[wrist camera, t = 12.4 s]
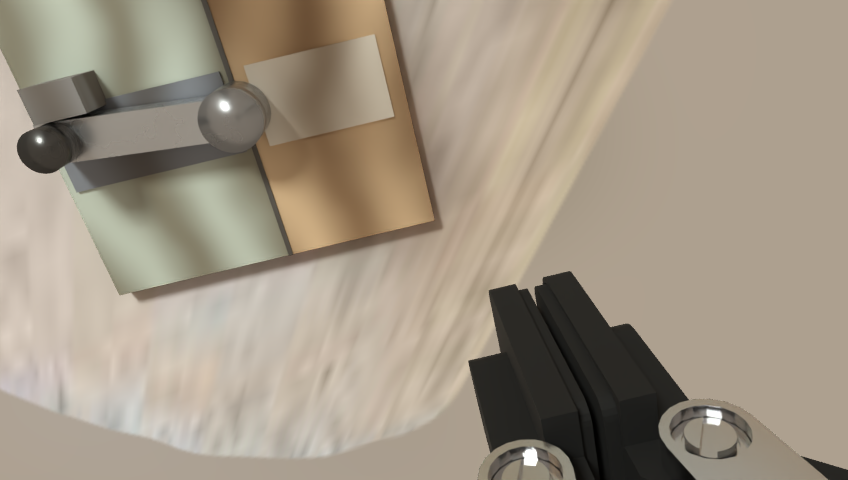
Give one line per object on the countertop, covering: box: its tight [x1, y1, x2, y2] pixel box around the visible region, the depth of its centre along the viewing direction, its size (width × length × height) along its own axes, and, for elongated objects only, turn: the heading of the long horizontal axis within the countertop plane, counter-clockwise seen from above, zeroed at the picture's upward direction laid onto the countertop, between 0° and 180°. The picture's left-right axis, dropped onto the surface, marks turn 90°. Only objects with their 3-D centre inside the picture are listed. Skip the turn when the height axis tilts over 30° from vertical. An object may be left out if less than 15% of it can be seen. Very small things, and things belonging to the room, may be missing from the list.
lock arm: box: [17, 81, 271, 174], centre depth 35 cm, size 13×4×4 cm, turn 97°
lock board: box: [0, 0, 434, 295], centre depth 36 cm, size 22×20×4 cm
